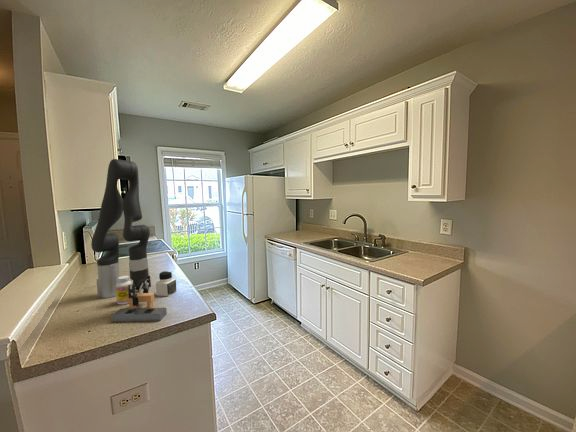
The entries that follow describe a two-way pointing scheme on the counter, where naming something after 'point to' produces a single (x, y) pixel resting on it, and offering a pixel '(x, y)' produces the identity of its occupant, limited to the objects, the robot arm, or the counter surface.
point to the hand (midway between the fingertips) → (141, 301)
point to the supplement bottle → (122, 289)
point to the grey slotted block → (139, 314)
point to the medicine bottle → (165, 284)
